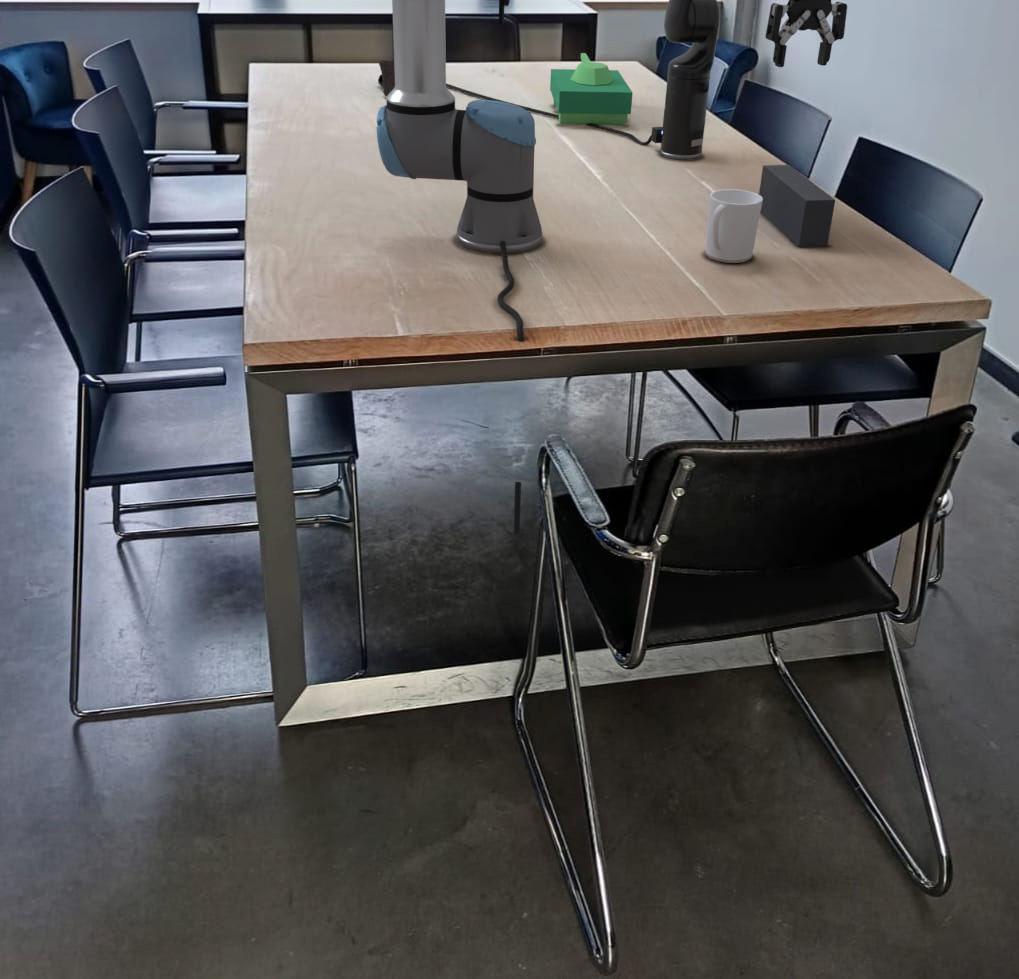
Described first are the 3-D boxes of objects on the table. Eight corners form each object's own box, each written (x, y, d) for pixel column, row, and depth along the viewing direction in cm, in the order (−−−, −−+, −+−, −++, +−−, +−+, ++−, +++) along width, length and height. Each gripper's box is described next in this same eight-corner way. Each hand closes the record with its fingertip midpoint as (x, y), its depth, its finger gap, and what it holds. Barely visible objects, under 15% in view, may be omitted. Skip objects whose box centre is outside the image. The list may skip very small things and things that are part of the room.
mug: (719, 243, 196) (726, 186, 191) (763, 254, 192) (772, 196, 186) (686, 258, 189) (693, 199, 184) (732, 271, 184) (740, 210, 179)
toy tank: (615, 49, 292) (633, 76, 262) (611, 97, 298) (629, 128, 269) (549, 48, 291) (560, 74, 261) (547, 96, 297) (558, 127, 268)
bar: (827, 246, 197) (835, 199, 192) (798, 247, 196) (806, 200, 192) (783, 207, 216) (789, 164, 212) (756, 208, 215) (762, 165, 211)
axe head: (443, 87, 294) (392, 77, 287) (436, 115, 299) (385, 106, 292) (421, 62, 307) (371, 52, 300) (414, 89, 311) (365, 80, 304)
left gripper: (534, -95, 215) (530, 21, 226) (409, -99, 217) (412, 16, 228) (530, -93, 208) (527, 27, 219) (401, -97, 211) (404, 22, 222)
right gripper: (840, -36, 194) (825, 60, 202) (767, -36, 191) (755, 63, 199) (863, -31, 188) (846, 68, 196) (788, -31, 184) (774, 71, 193)
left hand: (468, 22), depth 224 cm, fingers open, 13 cm apart
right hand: (800, 65), depth 198 cm, fingers open, 8 cm apart
